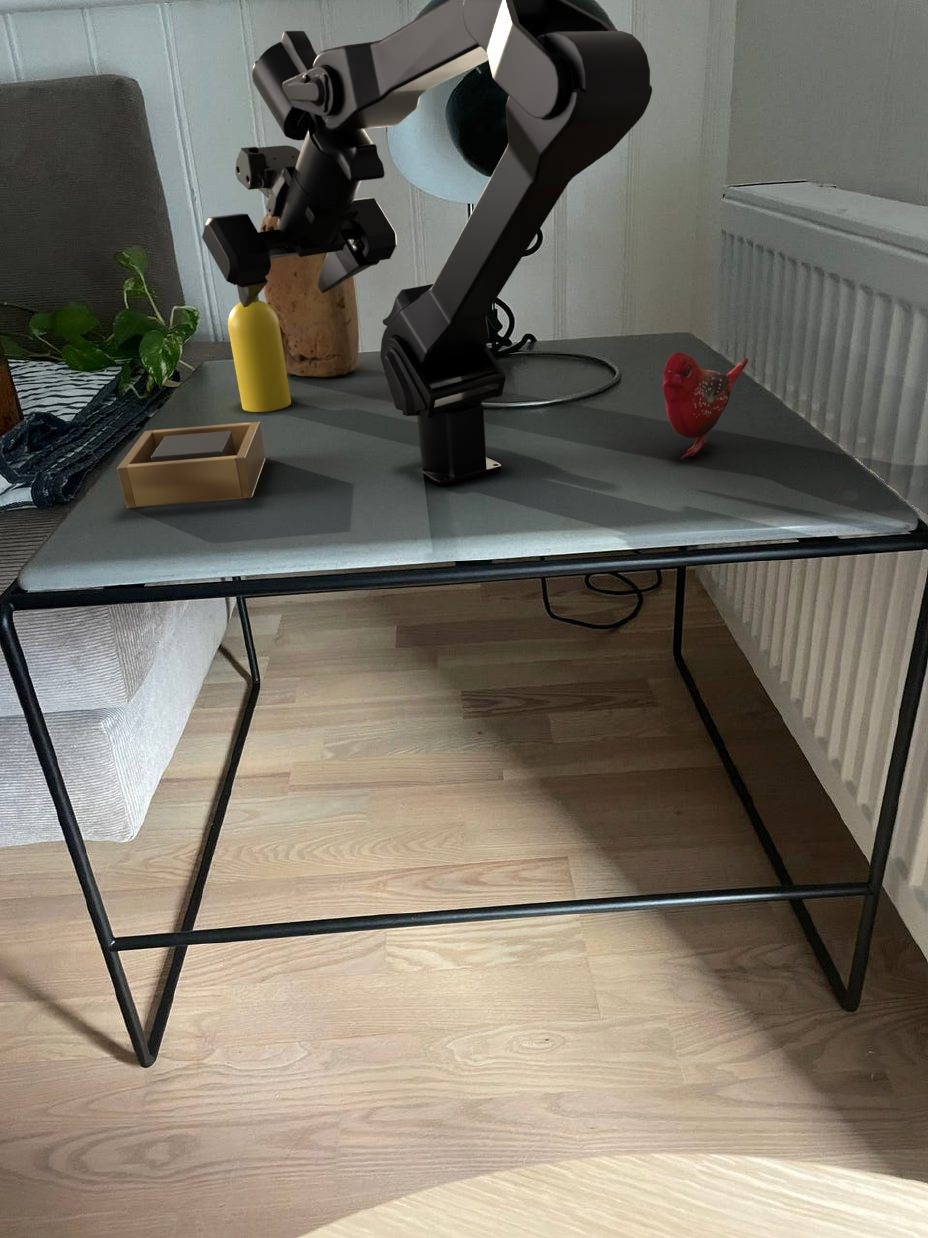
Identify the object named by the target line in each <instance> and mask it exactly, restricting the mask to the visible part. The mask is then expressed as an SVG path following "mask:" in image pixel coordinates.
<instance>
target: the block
mask: <svg viewBox="0 0 928 1238" xmlns="http://www.w3.org/2000/svg"><path fill="white" fill-rule="evenodd" d="M277 223H278V219H277V217H271V215H270V213H269V212H268V213H267V214H264V217H263V218H262V220H261V224H260V228H259V232H264V231H271V230H278V227H277ZM326 256H327V253H323V254H317V255H310V256H304V257H299V255H298V254H297V255H291V256H284V257H278V258H271V259H270V261H271V269H270V272H269V274H268V275H267V276H265V277H266V279H267V280H268V282H267V284H266V285H265V286H264V288H263V289H262V290H263V295H264V298H265V303H266V304H268V305H269V306H270V307H271V308H272V309H273V310H274V311H275V313H276V315H277V317H278V320H279V325H280V332H281V339H282V345H283V352H284V358H285V365H286V372H287V376H290V375H291V376H292V375H295V376H298V377H317V378H329V377H338V376H345V375H347V374H350V373H352V372H353V371H355V370H356V369H357V366H358V362H359V350H360V346H359V345H360V332H359V331H360V330H359V329H360V328H359V313H358V305H357V304H358V303H357V295H356V293H357V292H356V286H355V285H356V284H355V278H354V277H355V276H352V277H350V278H349V279H347V280H345V281H343V282H342V283H340V284H338V285H337V286H335V287H334V288H332V289H330V290H329V291H327V292H325V293H321V292H320V290H319V288H318V285H317V284H318V280H319V276H320V272H321V270H322V267H323V264H324V261H325V259H326Z"/></svg>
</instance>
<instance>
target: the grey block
mask: <svg viewBox="0 0 928 1238" xmlns="http://www.w3.org/2000/svg"><path fill="white" fill-rule="evenodd" d="M235 455H236V454H235V449H234V444H233V438H232V433H231V431H223V432H211V433H199V434H186V435H174V436H165V437H164V439H163V440H162V442H161V443H160V445H159V446H158V448H157V449H156V451H155V452H154V454H153V455H152V456H151V460H152V462H163V461H175V460H187V459H199V458H211V457H223V456H235Z"/></svg>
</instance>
